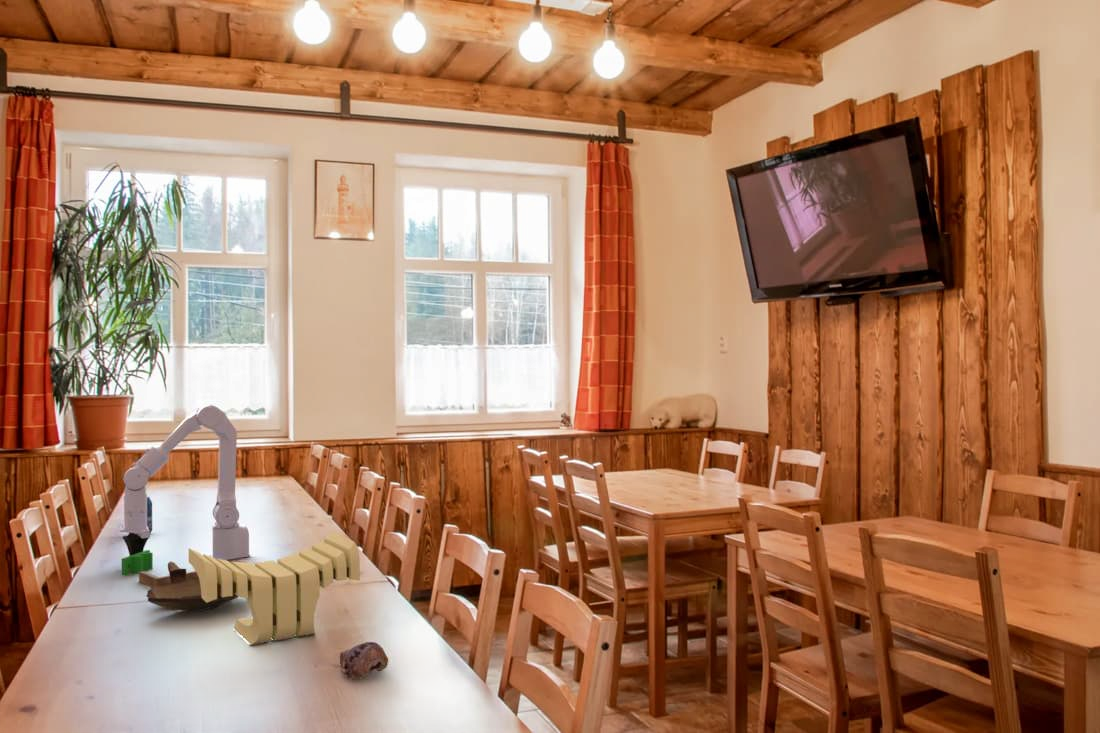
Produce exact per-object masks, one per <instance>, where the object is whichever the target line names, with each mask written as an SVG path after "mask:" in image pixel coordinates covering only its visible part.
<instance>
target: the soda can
mask: <svg viewBox="0 0 1100 733" xmlns="http://www.w3.org/2000/svg"><path fill="white" fill-rule="evenodd" d="M147 526H148V530H150V534H151V533H152V531H153V501H152V500H151V497H150V496H147Z"/></svg>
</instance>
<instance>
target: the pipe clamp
mask: <svg viewBox="0 0 1100 733" xmlns="http://www.w3.org/2000/svg"><path fill="white" fill-rule="evenodd" d="M153 556H154V555H153V552H151V550H149V549H145V550H143V551H142V552H139V553H137V554H134V555H131V556H130V555H128V556H125V557H123V558H121V576H127V574H128V575H130V573H131V574H139V572H141V571H145V570H146V571H147V570H153V566H154V565H153V562H154V561H153Z"/></svg>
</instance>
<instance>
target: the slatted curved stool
mask: <svg viewBox="0 0 1100 733" xmlns="http://www.w3.org/2000/svg"><path fill="white" fill-rule="evenodd" d="M323 540H324V541H322V540H318V542H316V543H313V544H312V545H311V548H309V547H306V548H304V549H302V550H300V551H299V552H298V554H296V553H293V554H290V555H288V556H285V557H282V558H278V559H277V560H276V561H275V560H269V561H267V560H266V561H263V562H262V561H261V562H259V561H258V562H254V564H253V563H251V562H239V561H229V560H222V559H218V561H217V560H216V559H215V558H213V557H211V556H209V554H208V555H207V554H201V553H200V552H199V551H196V550H194V549H191V548H188V564H190V565H191V566H192V567H193V570H194V571H196V572H197V574H198V577H199V580H200V586H201V597H202V599H203V600H204V601H205V602H206V603H207V602H210V601H212V600H215V599H217V595H220V596H221V597H227V596H233V593H234V594H236V595H237V596H239V597H240V598H244V599H246V603H247V604H248V606H249V609H250V611H251V612H250V613H251V615H252V617H246V618H238V619H236V622H235V624H234V625H233V627H232V629H233V628H234V629H235V630H236V631H237V632H238V633H239V634H240V635H242V636H243V638H245V639H246V640H247V641H248V642H249V643H250V644H251V645H250V646H253V645H259V644H265V643H269V642H271V641H272V640H271V638H272V639H273V640H274V641H273V642H276V641H281V639H282V640H286V639H287V638H288V639H292V638H294V637H296V636H297V638H298V637H304V635H305V636H310V634H311V635H315V634H316V631H315V624H314V623H315V621H314V620H315V612H316V609H317V605H318V601H319V599H320V596H321V594H320V593H321V592H320V591H321V590H320V588H322V589H325V588H327V587H328V586H330V585H331V584H333V583H334V580H335V581H337V582H339V581H346V580H347V579H349V580H350V581H351V580H353V581H359V582H360V580H361V575H360V574H361V570H360V568H361V566H360V563H361V561H360V560H361V558H360V553H359V548H358V546H357V543H355V541H353V540H351V539H349V538H347V537H345V536H342V535H340V534H338V533H335V532H334V531H333V532H331V533H329V534H328V535H326V536H325V537H324V538H323ZM239 597H238V598H239ZM295 635H296V636H295ZM264 642H265V643H264ZM258 643H259V644H258ZM252 644H253V645H252Z"/></svg>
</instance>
